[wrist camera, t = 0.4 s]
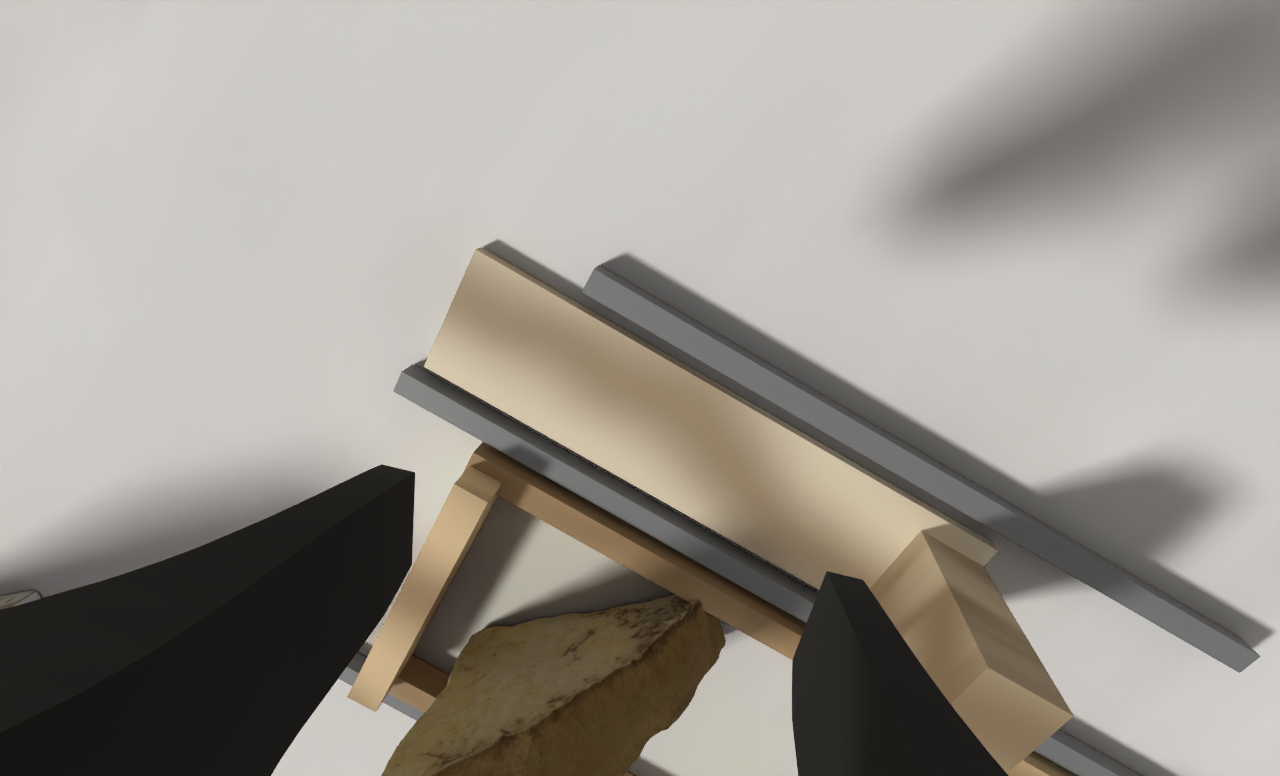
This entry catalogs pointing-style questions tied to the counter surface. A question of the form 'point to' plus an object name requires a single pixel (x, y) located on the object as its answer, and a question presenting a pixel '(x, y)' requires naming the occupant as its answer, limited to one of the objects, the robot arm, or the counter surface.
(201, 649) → the robot arm
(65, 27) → the counter surface
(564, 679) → the rock
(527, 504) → the oak sled
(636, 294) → the rails
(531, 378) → the maple strip
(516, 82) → the counter surface
